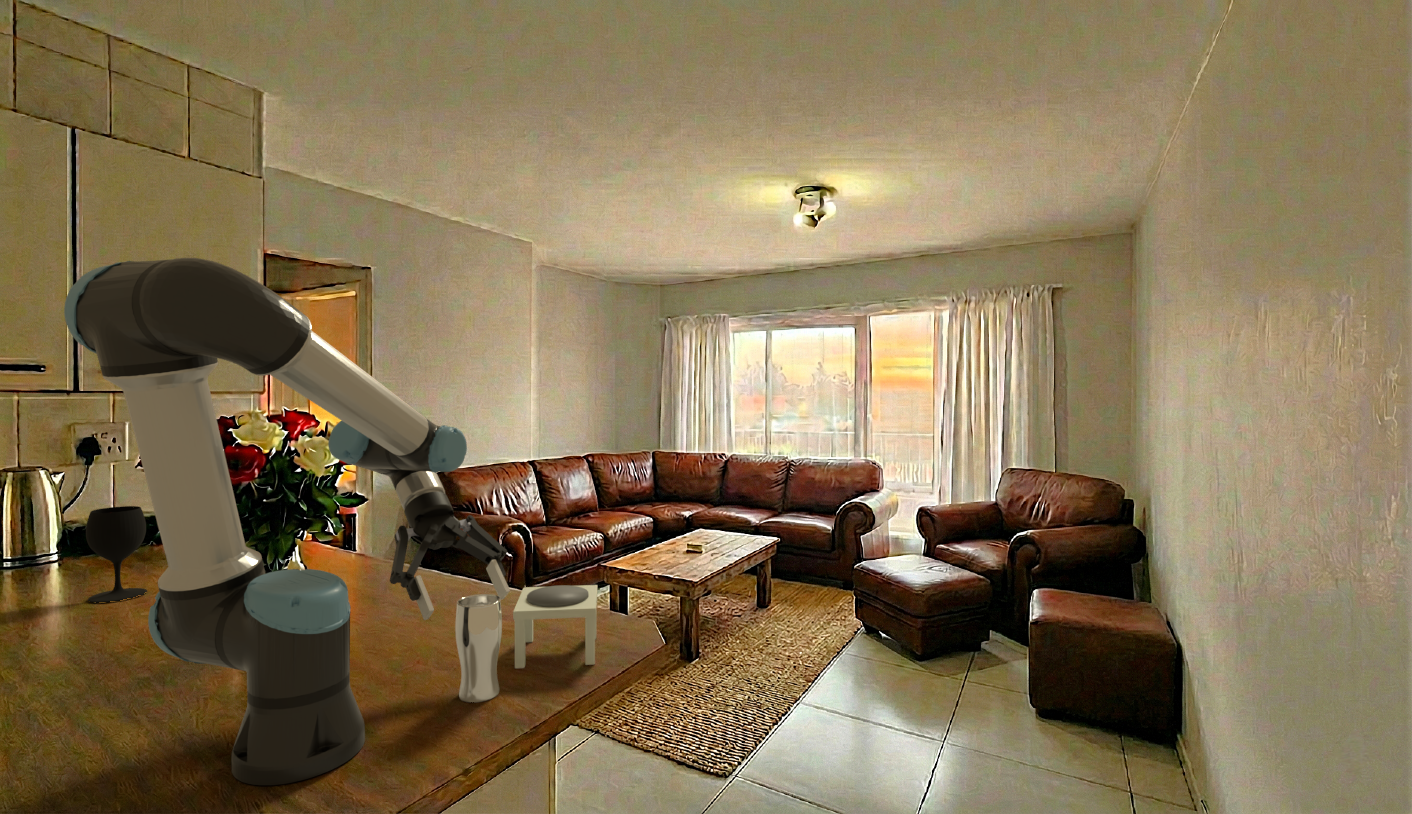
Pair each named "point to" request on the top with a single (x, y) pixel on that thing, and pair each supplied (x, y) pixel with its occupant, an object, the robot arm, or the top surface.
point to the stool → (555, 614)
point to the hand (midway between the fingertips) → (468, 605)
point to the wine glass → (116, 543)
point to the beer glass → (478, 645)
